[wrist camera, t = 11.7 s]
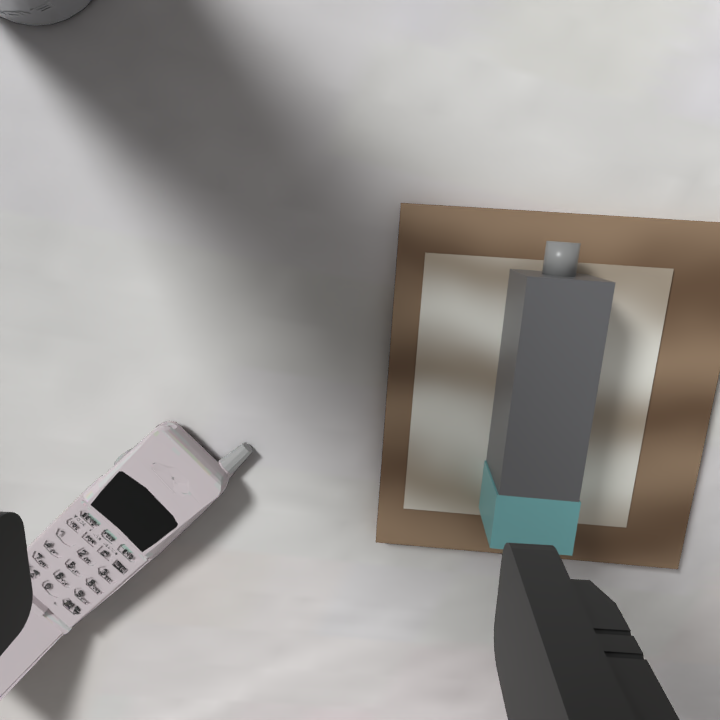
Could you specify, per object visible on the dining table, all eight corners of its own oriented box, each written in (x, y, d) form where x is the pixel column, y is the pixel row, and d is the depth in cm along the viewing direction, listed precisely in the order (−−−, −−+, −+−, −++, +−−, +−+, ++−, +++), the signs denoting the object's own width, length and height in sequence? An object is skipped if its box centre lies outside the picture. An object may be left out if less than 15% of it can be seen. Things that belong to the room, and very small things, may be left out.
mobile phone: (-121, 684, 35) (154, 419, 30) (-49, 617, 41) (193, 385, 36) (-43, 747, 36) (239, 500, 31) (18, 673, 42) (263, 455, 36)
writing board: (400, 203, 32) (400, 202, 31) (739, 224, 31) (752, 224, 30) (376, 533, 37) (375, 543, 36) (670, 559, 36) (679, 571, 35)
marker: (511, 237, 31) (529, 240, 27) (592, 243, 31) (623, 247, 27) (478, 507, 35) (489, 548, 30) (550, 514, 35) (572, 555, 30)
